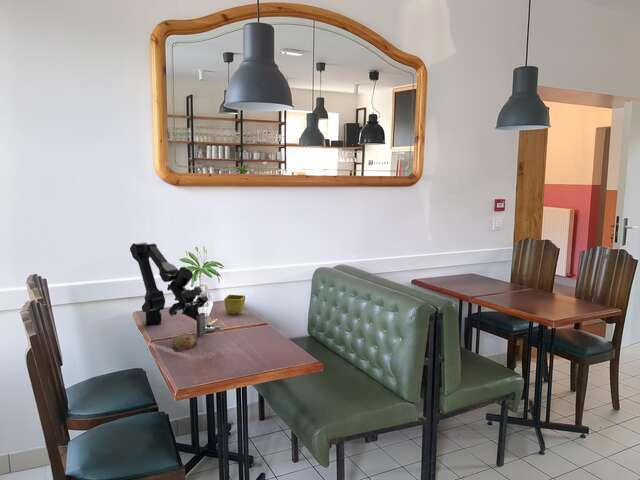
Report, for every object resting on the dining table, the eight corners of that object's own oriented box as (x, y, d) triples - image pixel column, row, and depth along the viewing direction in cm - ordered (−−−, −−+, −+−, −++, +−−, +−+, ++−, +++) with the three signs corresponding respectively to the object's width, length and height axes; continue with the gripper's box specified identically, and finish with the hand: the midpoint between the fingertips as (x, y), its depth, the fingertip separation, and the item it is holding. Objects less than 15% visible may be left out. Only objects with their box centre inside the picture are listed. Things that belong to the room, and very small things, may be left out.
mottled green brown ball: (169, 357, 203) (163, 343, 199) (183, 340, 211) (177, 326, 207) (190, 361, 200) (185, 346, 196) (203, 343, 208) (198, 329, 204)
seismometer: (207, 322, 233) (207, 304, 232) (225, 324, 232) (225, 305, 230) (188, 335, 215) (188, 315, 214) (208, 337, 213) (207, 317, 212)
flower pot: (245, 312, 256) (245, 295, 255) (241, 317, 248) (241, 299, 246) (228, 311, 257) (228, 294, 256) (224, 316, 249) (223, 298, 247)
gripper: (172, 285, 209) (192, 315, 205) (205, 277, 225) (223, 305, 220) (160, 300, 214) (179, 330, 210) (192, 292, 230) (210, 319, 226)
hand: (199, 320), depth 216 cm, fingers closed, pressing on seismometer
